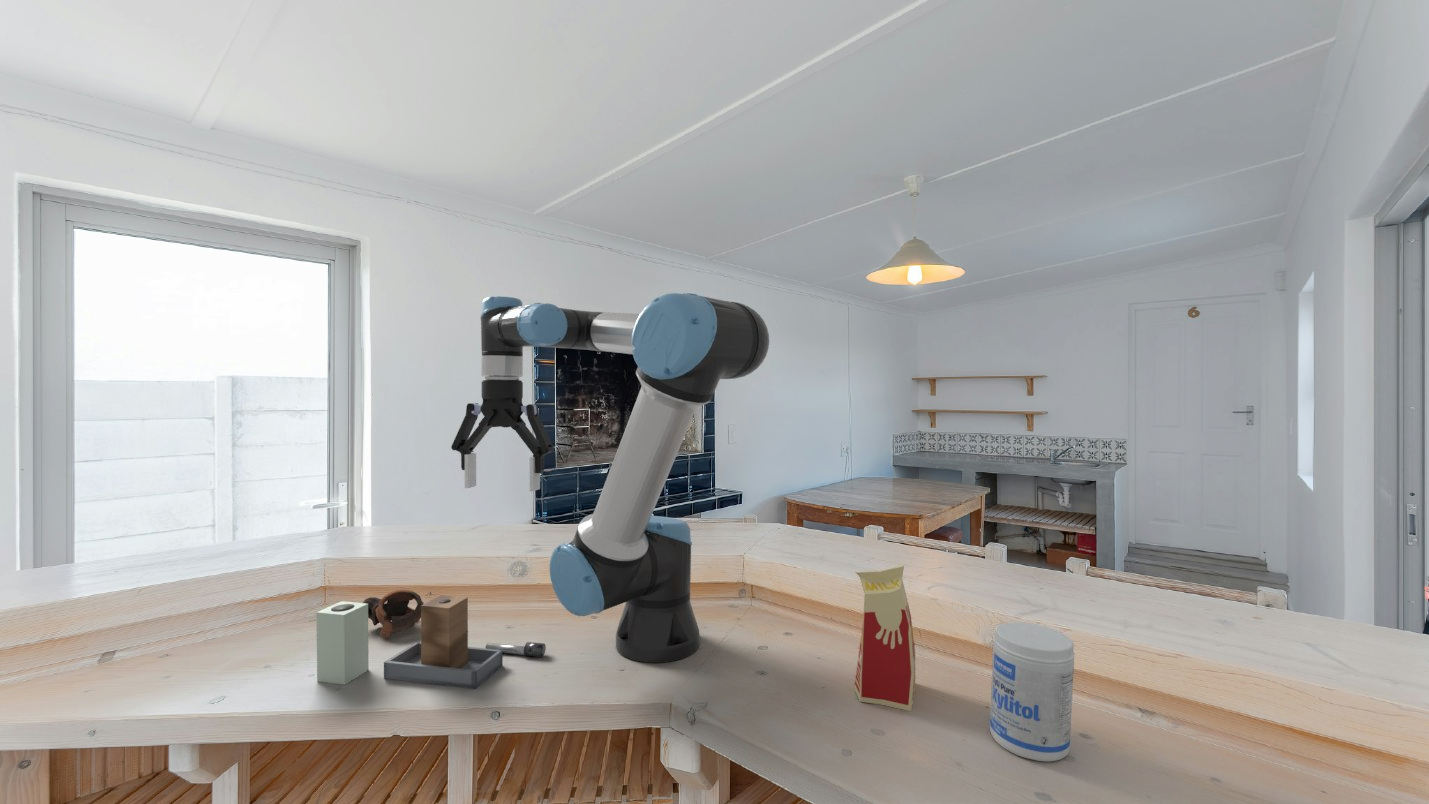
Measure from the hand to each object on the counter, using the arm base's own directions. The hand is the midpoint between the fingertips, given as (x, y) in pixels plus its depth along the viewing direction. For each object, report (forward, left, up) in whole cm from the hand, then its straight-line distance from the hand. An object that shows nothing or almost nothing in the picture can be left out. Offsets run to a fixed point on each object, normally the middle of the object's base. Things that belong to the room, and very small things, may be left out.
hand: (502, 488), depth 118 cm
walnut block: (-1, +19, -26) cm, 33 cm away
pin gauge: (-9, +11, -27) cm, 30 cm away
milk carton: (-71, +11, -27) cm, 77 cm away
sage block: (+14, +24, -27) cm, 39 cm away
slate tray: (-1, +19, -27) cm, 33 cm away
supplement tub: (-89, +21, -27) cm, 95 cm away
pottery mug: (+19, +6, -27) cm, 34 cm away
